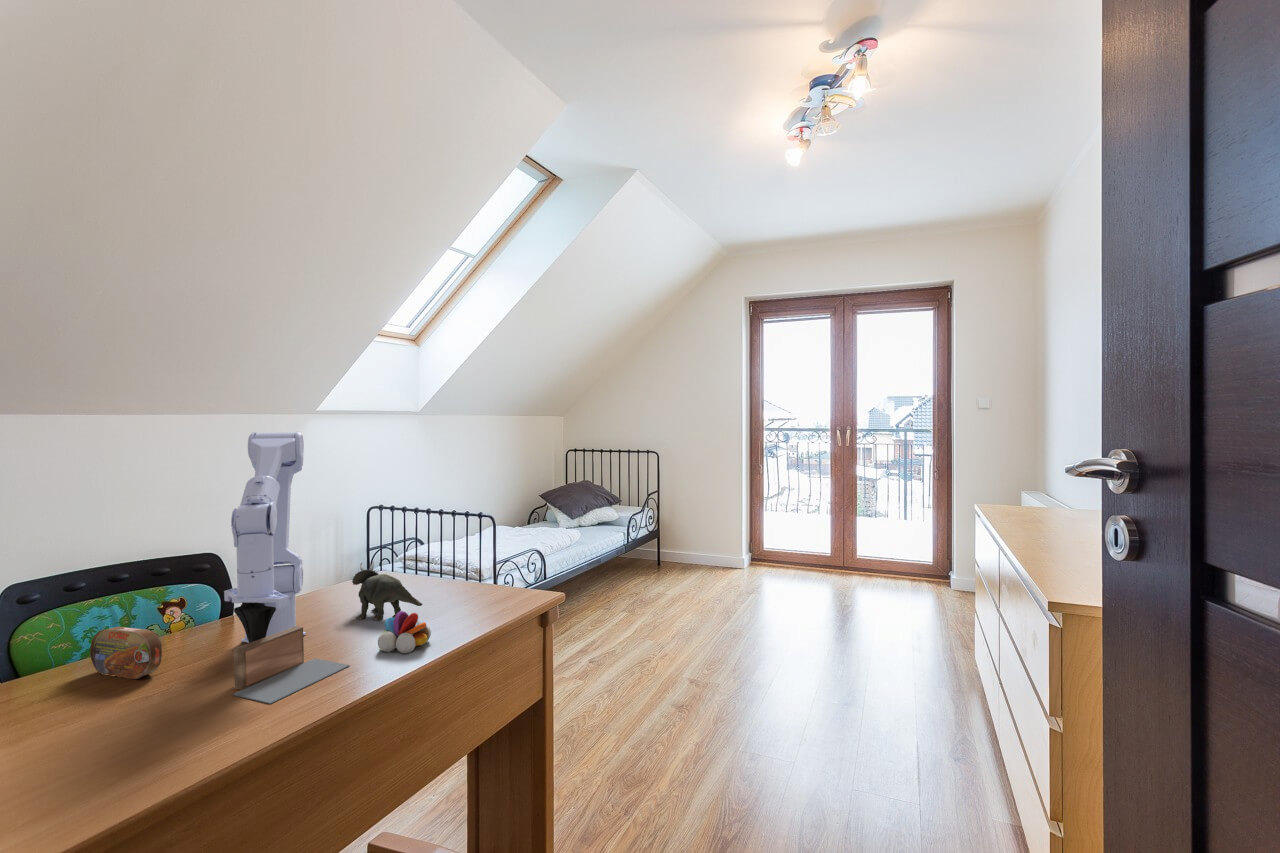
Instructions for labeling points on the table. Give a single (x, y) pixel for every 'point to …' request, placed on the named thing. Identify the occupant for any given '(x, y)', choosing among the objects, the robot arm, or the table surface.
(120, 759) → the table surface
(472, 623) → the table surface
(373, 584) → the dinosaur figurine
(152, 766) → the table surface
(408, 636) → the rainbow petal rattle
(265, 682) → the felt mat
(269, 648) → the wooden block
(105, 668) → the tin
